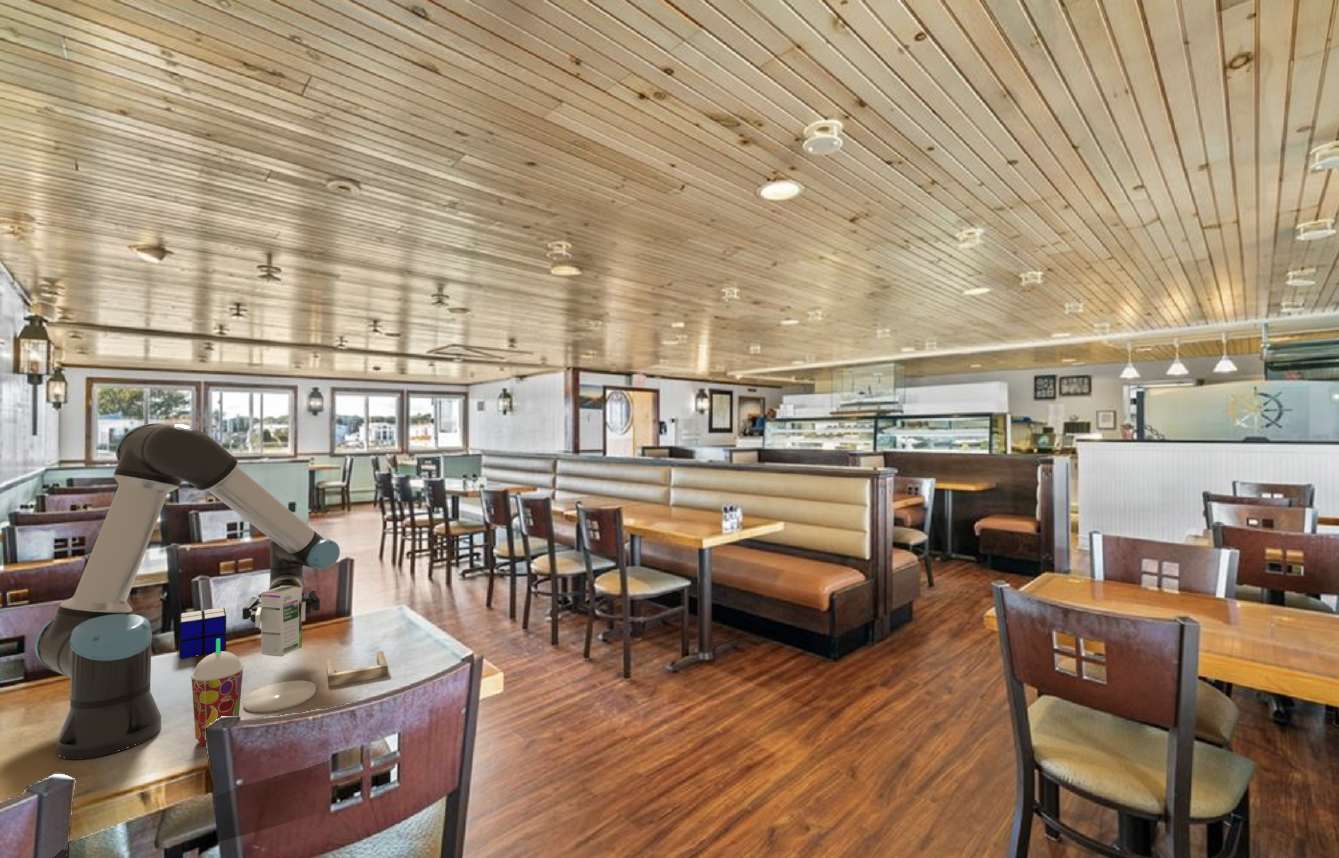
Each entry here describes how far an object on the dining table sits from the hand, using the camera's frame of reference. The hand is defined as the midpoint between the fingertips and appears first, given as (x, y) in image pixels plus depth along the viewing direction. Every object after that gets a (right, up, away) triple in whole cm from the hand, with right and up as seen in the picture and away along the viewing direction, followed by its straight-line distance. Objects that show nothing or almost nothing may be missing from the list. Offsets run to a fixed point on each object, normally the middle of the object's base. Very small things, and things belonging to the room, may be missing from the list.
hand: (280, 618), depth 133 cm
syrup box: (-3, -9, +4) cm, 10 cm away
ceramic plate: (-3, -20, +4) cm, 20 cm away
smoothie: (-4, -20, -14) cm, 25 cm away
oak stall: (+7, -20, +19) cm, 28 cm away
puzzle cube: (-43, -19, +32) cm, 57 cm away
